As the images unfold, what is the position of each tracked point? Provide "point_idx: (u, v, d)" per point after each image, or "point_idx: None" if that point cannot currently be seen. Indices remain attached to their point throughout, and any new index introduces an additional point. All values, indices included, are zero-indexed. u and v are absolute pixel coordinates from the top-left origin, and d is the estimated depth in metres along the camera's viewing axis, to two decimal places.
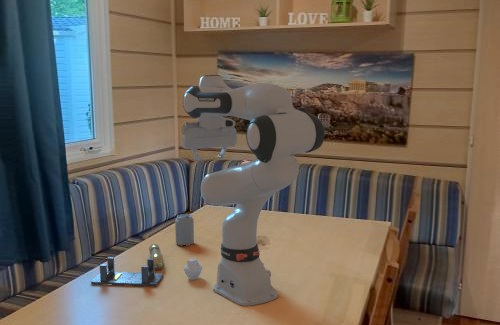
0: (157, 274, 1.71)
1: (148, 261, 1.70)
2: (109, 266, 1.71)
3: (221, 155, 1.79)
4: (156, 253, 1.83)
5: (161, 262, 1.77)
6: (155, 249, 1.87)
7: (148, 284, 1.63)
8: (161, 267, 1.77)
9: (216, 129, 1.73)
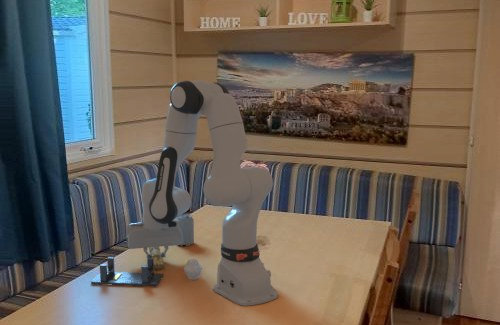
0: (157, 274, 1.71)
1: (148, 261, 1.70)
2: (109, 266, 1.71)
3: (163, 254, 1.85)
4: (156, 253, 1.83)
5: (161, 262, 1.77)
6: (155, 249, 1.87)
7: (148, 284, 1.63)
8: (161, 267, 1.77)
9: (159, 230, 1.81)
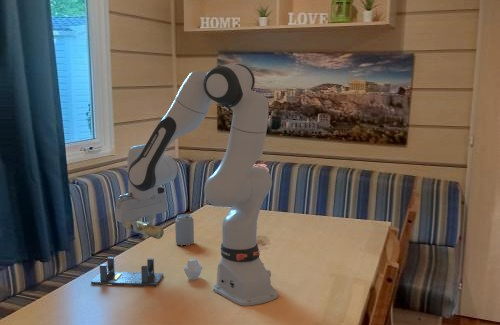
0: (157, 274, 1.71)
1: (148, 261, 1.70)
2: (109, 266, 1.71)
3: None
4: (146, 223, 1.73)
5: (161, 229, 1.70)
6: (138, 221, 1.76)
7: (148, 284, 1.63)
8: (161, 235, 1.70)
9: (149, 198, 1.72)
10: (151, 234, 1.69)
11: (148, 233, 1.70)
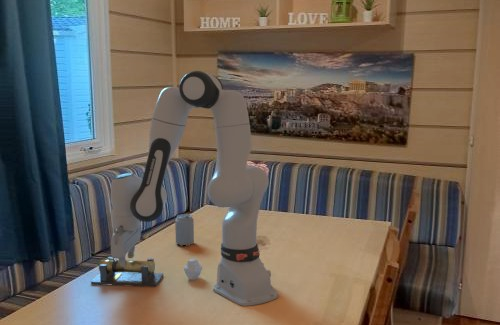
0: (157, 274, 1.71)
1: None
2: None
3: (133, 254, 1.71)
4: (132, 261, 1.66)
5: (154, 263, 1.67)
6: None
7: (148, 284, 1.63)
8: (154, 268, 1.68)
9: None
10: None
11: None
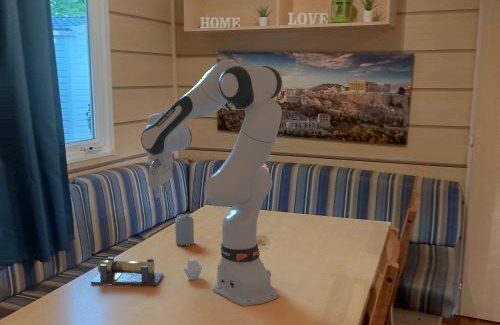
0: (157, 274, 1.71)
1: (148, 261, 1.70)
2: None
3: (166, 188, 1.88)
4: (131, 263, 1.65)
5: (153, 263, 1.66)
6: (119, 263, 1.65)
7: (148, 284, 1.63)
8: None
9: None
10: None
11: (141, 273, 1.65)
